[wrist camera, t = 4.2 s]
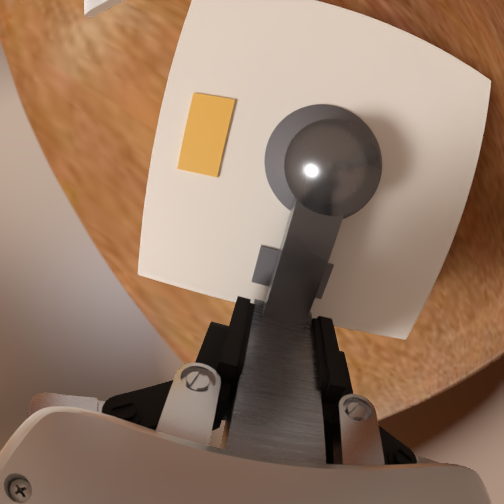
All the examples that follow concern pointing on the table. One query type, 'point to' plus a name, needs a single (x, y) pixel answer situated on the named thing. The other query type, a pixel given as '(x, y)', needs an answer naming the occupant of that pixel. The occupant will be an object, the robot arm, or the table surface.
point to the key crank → (299, 296)
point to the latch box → (275, 144)
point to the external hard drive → (98, 6)
